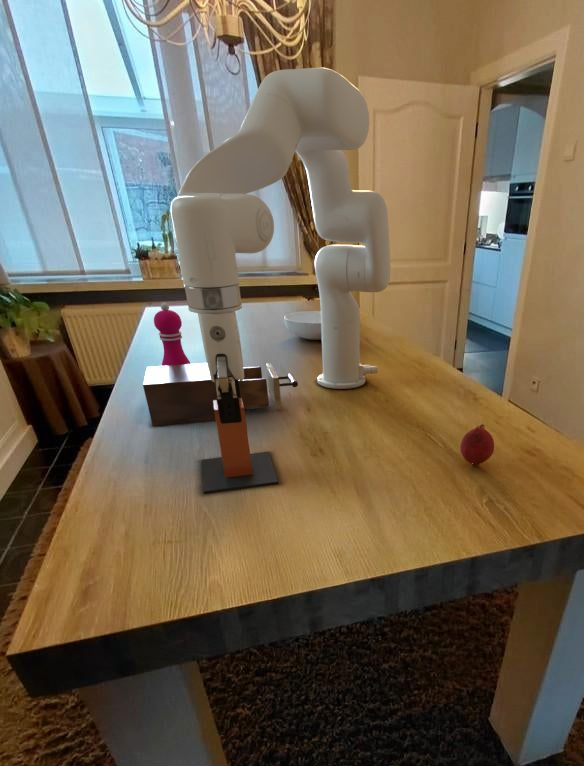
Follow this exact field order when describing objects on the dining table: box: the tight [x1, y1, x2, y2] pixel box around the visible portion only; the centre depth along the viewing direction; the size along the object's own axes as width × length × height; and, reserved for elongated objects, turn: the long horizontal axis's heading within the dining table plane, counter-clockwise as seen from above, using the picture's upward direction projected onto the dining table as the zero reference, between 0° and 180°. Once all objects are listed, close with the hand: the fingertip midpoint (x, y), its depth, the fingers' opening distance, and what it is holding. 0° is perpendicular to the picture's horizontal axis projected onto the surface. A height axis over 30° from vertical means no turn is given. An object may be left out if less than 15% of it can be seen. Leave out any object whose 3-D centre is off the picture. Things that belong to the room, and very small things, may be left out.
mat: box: [201, 451, 279, 494], centre depth 86 cm, size 12×12×1 cm
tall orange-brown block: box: [213, 398, 253, 478], centre depth 82 cm, size 5×5×12 cm
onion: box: [460, 422, 495, 467], centre depth 87 cm, size 6×6×8 cm
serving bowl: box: [283, 310, 322, 341], centre depth 168 cm, size 21×21×7 cm
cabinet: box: [142, 362, 217, 427], centre depth 107 cm, size 15×13×9 cm
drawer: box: [238, 362, 299, 410], centre depth 111 cm, size 18×12×7 cm, turn 107°
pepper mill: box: [153, 302, 192, 366], centre depth 117 cm, size 7×7×20 cm
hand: (231, 410), depth 80 cm, fingers open, 9 cm apart
